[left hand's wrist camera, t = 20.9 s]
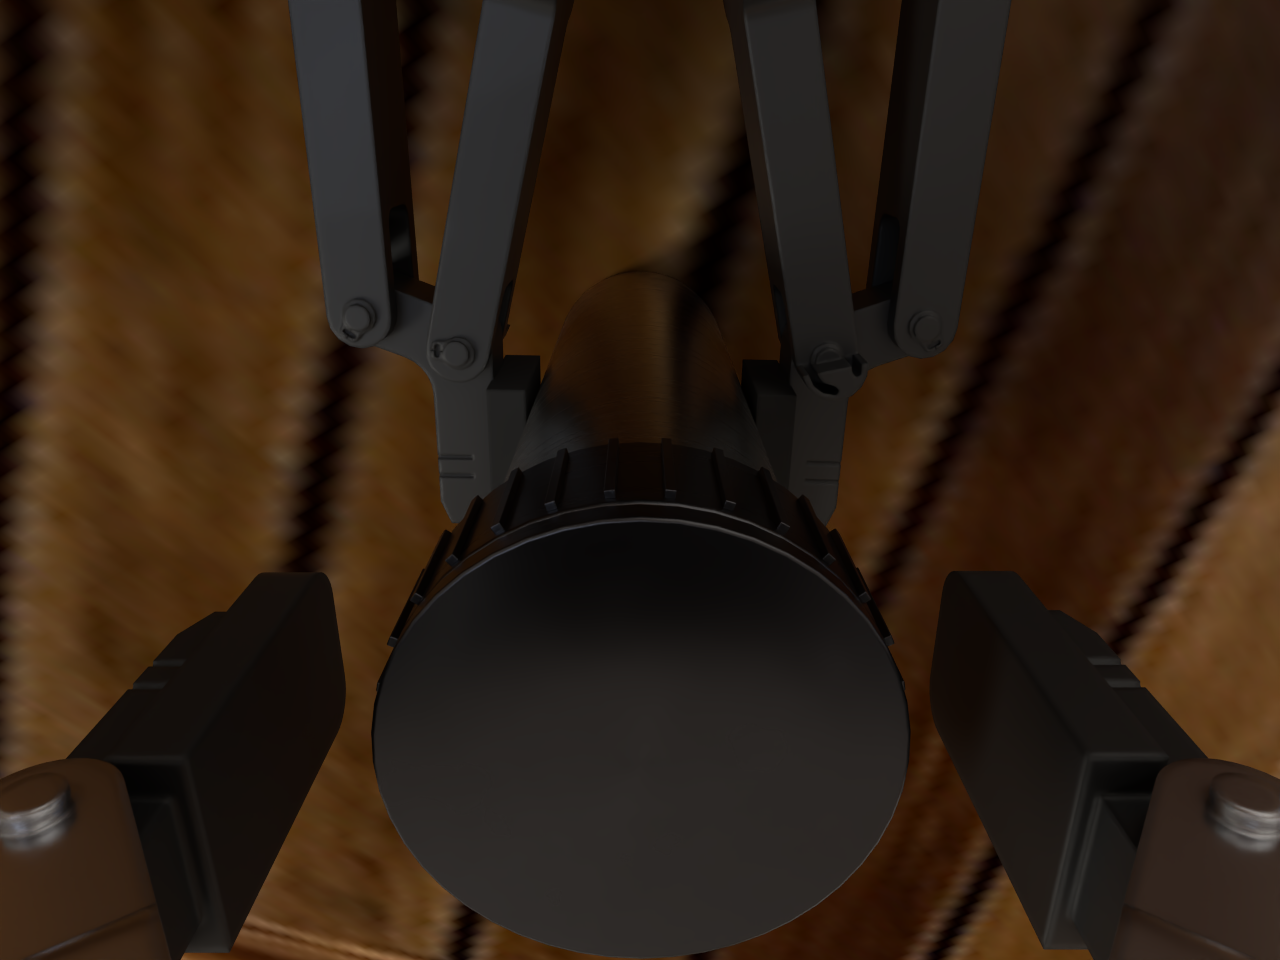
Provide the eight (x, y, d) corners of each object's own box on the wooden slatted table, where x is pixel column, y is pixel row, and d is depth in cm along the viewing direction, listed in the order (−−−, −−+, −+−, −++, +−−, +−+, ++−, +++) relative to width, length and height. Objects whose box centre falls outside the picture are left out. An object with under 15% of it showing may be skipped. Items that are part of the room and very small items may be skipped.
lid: (733, 343, 9) (759, 399, 8) (941, 716, 11) (1004, 843, 9) (319, 575, 10) (245, 677, 9) (568, 885, 12) (554, 1029, 10)
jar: (676, 456, 26) (726, 916, 11) (533, 390, 25) (375, 785, 10) (751, 316, 24) (928, 626, 9) (601, 241, 24) (532, 448, 9)
